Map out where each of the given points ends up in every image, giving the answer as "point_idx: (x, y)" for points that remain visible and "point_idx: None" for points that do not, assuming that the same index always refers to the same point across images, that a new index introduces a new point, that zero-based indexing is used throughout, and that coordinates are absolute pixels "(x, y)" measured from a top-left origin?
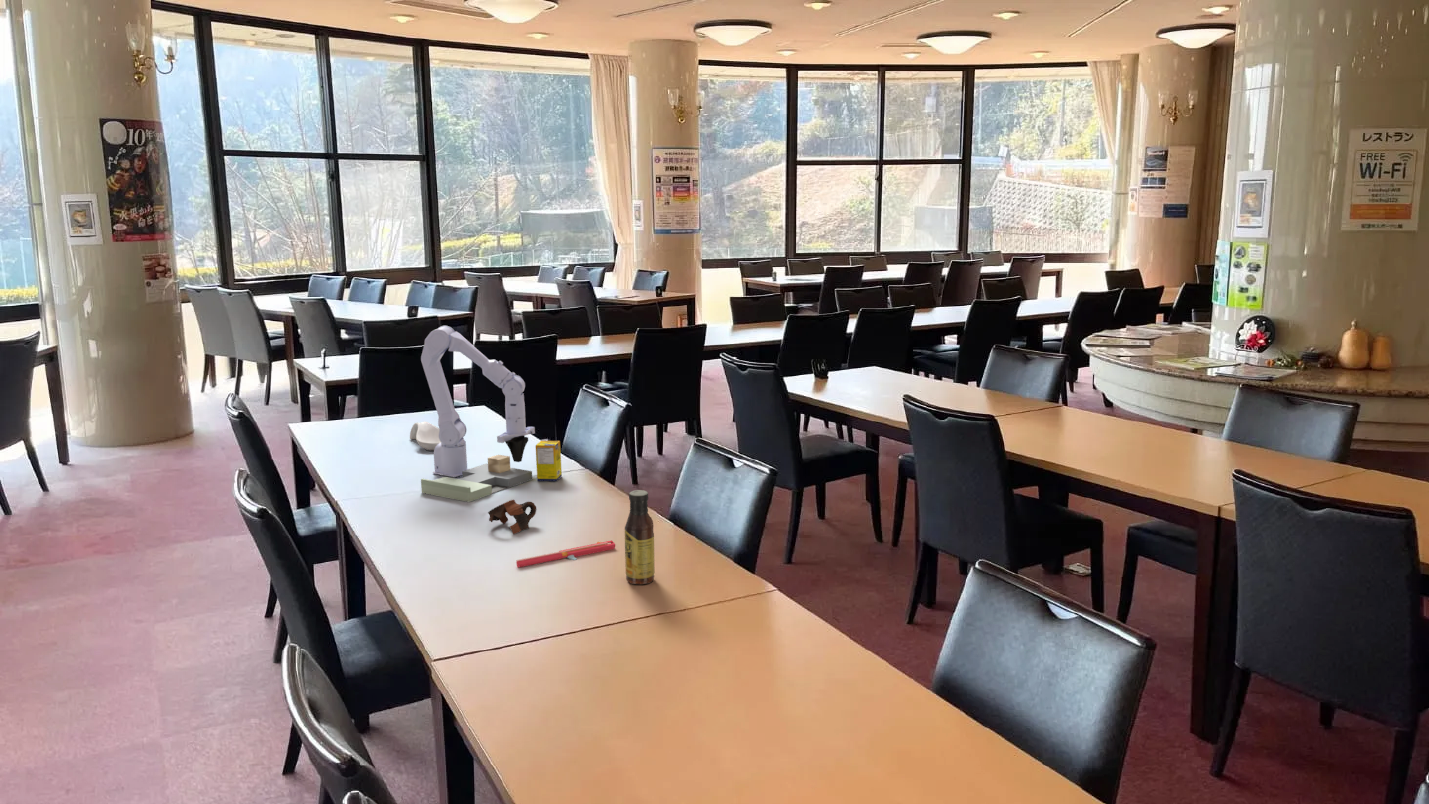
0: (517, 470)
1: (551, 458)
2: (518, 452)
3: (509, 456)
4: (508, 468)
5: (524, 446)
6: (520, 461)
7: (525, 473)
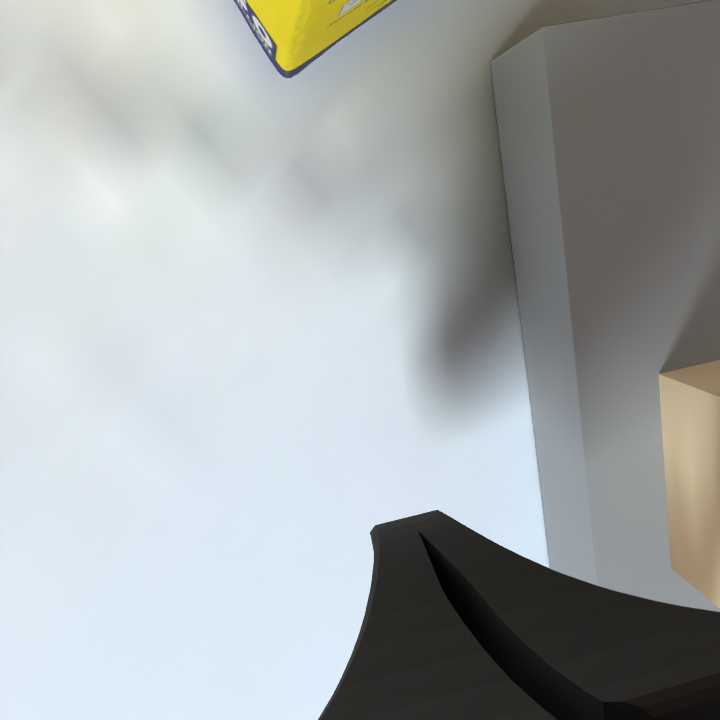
0: (639, 251)
1: None
2: (538, 566)
3: None
4: (712, 371)
5: (381, 663)
6: (398, 520)
7: (688, 5)
